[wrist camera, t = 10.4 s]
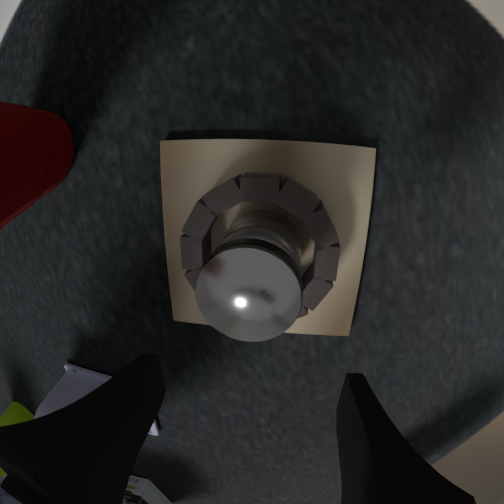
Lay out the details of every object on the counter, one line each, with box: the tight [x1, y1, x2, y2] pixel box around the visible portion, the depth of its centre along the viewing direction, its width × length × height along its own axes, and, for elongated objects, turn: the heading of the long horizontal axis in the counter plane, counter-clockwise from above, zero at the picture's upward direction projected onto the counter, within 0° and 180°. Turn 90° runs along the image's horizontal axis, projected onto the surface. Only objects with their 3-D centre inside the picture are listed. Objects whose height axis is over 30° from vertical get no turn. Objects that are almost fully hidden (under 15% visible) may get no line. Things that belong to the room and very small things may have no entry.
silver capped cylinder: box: [195, 210, 303, 342], centre depth 16 cm, size 4×4×6 cm
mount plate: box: [160, 139, 376, 336], centre depth 18 cm, size 12×12×3 cm
